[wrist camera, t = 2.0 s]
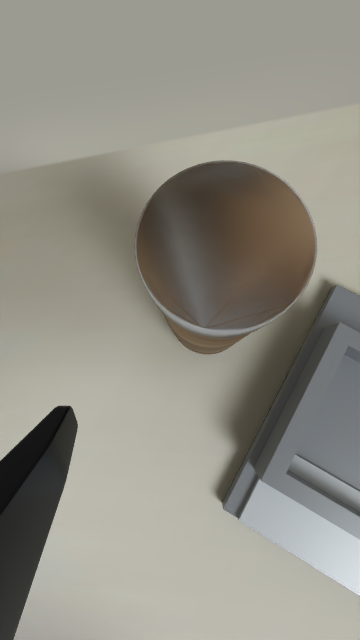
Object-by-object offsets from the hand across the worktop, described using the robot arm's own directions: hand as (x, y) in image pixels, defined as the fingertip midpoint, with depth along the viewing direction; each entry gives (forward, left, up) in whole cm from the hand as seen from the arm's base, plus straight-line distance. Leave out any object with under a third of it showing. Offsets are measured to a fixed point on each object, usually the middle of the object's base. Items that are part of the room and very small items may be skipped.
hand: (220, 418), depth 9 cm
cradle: (+2, -10, -12) cm, 15 cm away
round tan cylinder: (+4, +2, -12) cm, 13 cm away
